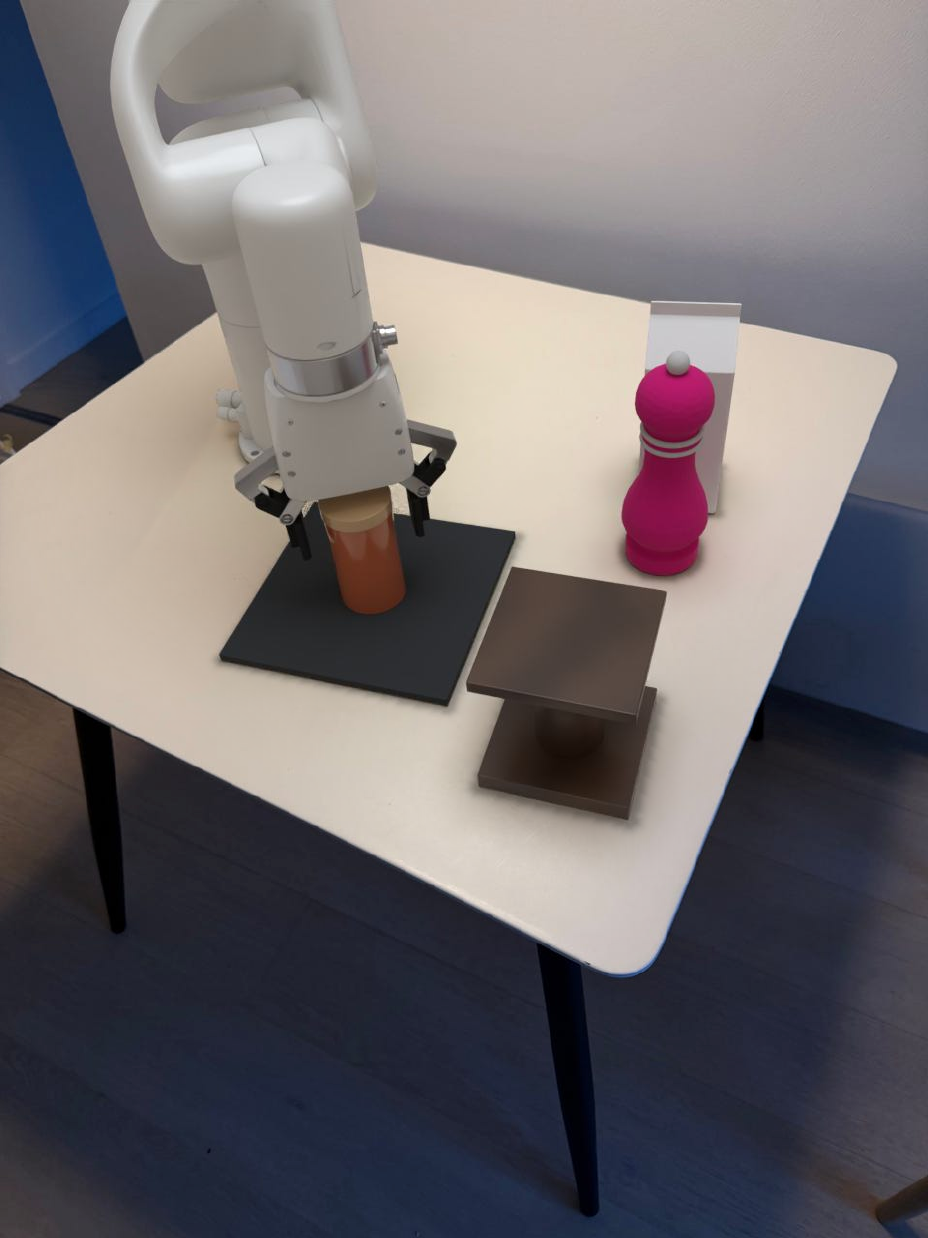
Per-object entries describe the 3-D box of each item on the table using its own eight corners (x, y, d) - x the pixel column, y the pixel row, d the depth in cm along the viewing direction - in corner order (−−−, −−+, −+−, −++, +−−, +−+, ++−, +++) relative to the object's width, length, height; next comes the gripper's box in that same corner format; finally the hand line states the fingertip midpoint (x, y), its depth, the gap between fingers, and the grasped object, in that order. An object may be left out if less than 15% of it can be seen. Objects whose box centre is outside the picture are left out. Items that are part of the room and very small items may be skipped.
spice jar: (330, 609, 84) (306, 515, 77) (355, 563, 88) (334, 469, 80) (393, 621, 83) (375, 526, 75) (416, 573, 87) (401, 478, 79)
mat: (220, 660, 83) (218, 654, 82) (315, 507, 95) (314, 500, 95) (447, 706, 77) (446, 700, 77) (515, 537, 90) (515, 531, 89)
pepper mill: (682, 590, 84) (706, 389, 69) (605, 563, 87) (612, 365, 72) (715, 539, 88) (744, 339, 73) (640, 515, 91) (654, 318, 76)
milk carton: (715, 515, 90) (741, 327, 76) (636, 509, 91) (647, 324, 77) (717, 466, 95) (742, 281, 81) (642, 461, 96) (654, 279, 82)
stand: (478, 787, 72) (465, 682, 63) (518, 674, 79) (511, 565, 70) (628, 820, 69) (636, 715, 60) (656, 700, 76) (667, 590, 67)
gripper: (435, 305, 72) (455, 488, 85) (197, 349, 71) (254, 529, 83) (456, 359, 67) (474, 545, 80) (201, 408, 65) (261, 590, 78)
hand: (362, 537), depth 81 cm, fingers open, 9 cm apart
